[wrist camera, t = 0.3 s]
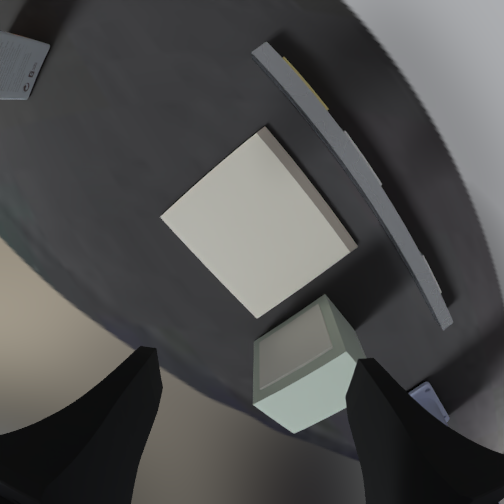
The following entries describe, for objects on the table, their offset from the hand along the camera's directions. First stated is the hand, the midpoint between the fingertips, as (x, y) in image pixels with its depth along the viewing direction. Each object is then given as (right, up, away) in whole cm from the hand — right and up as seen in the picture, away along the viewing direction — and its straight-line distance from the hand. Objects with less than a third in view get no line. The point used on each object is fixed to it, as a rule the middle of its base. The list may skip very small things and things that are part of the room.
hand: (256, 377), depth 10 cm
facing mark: (0, +6, +8) cm, 10 cm away
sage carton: (+4, -1, +11) cm, 12 cm away
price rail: (+7, +7, +7) cm, 13 cm away
